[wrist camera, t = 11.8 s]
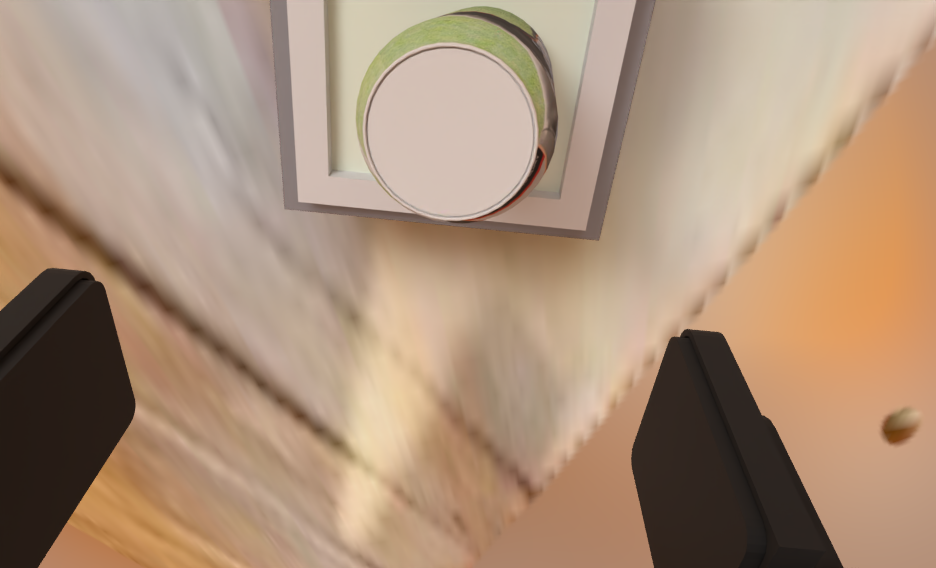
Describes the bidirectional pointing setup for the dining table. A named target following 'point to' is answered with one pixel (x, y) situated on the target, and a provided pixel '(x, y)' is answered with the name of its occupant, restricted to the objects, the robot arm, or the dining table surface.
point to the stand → (409, 3)
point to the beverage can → (459, 115)
